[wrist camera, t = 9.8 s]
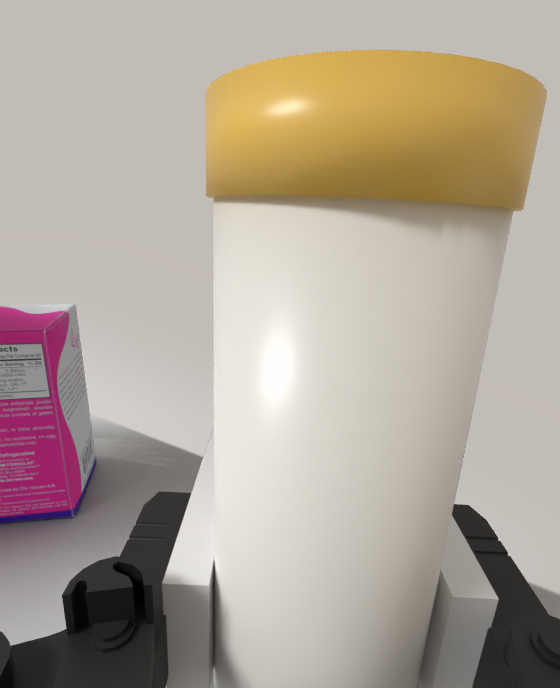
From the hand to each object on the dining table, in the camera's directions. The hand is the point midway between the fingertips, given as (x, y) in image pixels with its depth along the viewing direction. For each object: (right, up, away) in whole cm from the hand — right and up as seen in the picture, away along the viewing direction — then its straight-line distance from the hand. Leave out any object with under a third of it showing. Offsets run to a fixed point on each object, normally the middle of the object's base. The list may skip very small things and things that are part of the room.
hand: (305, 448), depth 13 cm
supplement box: (-16, -6, +13) cm, 21 cm away
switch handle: (0, -9, -3) cm, 10 cm away
